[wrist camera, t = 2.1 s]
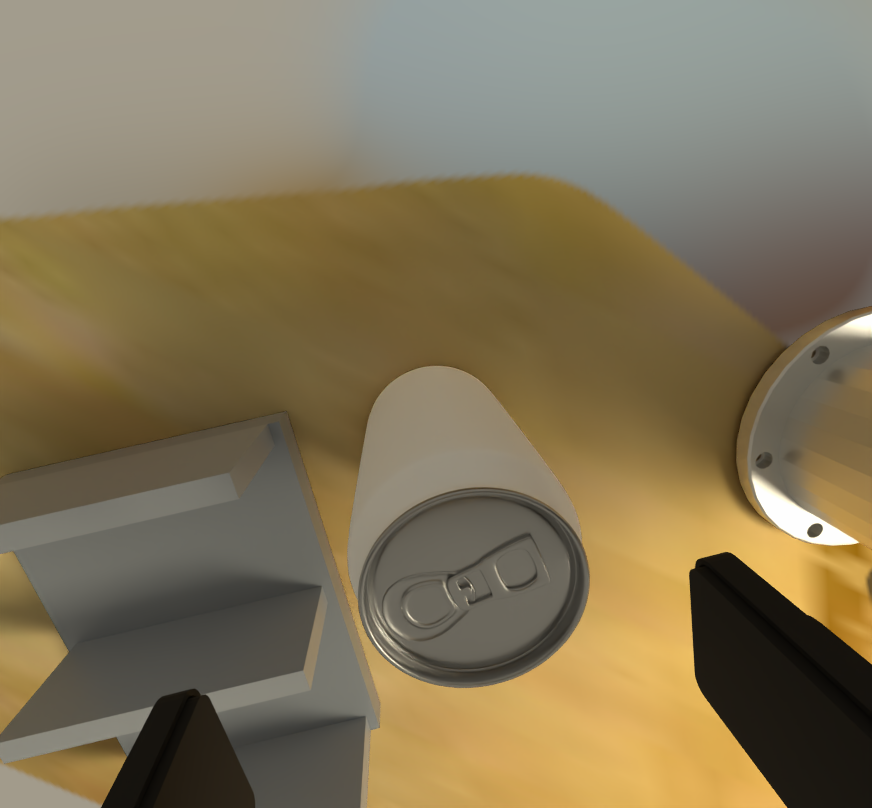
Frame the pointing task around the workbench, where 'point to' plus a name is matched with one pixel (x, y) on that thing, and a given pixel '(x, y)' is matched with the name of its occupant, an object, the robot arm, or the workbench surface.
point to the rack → (196, 607)
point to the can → (461, 536)
